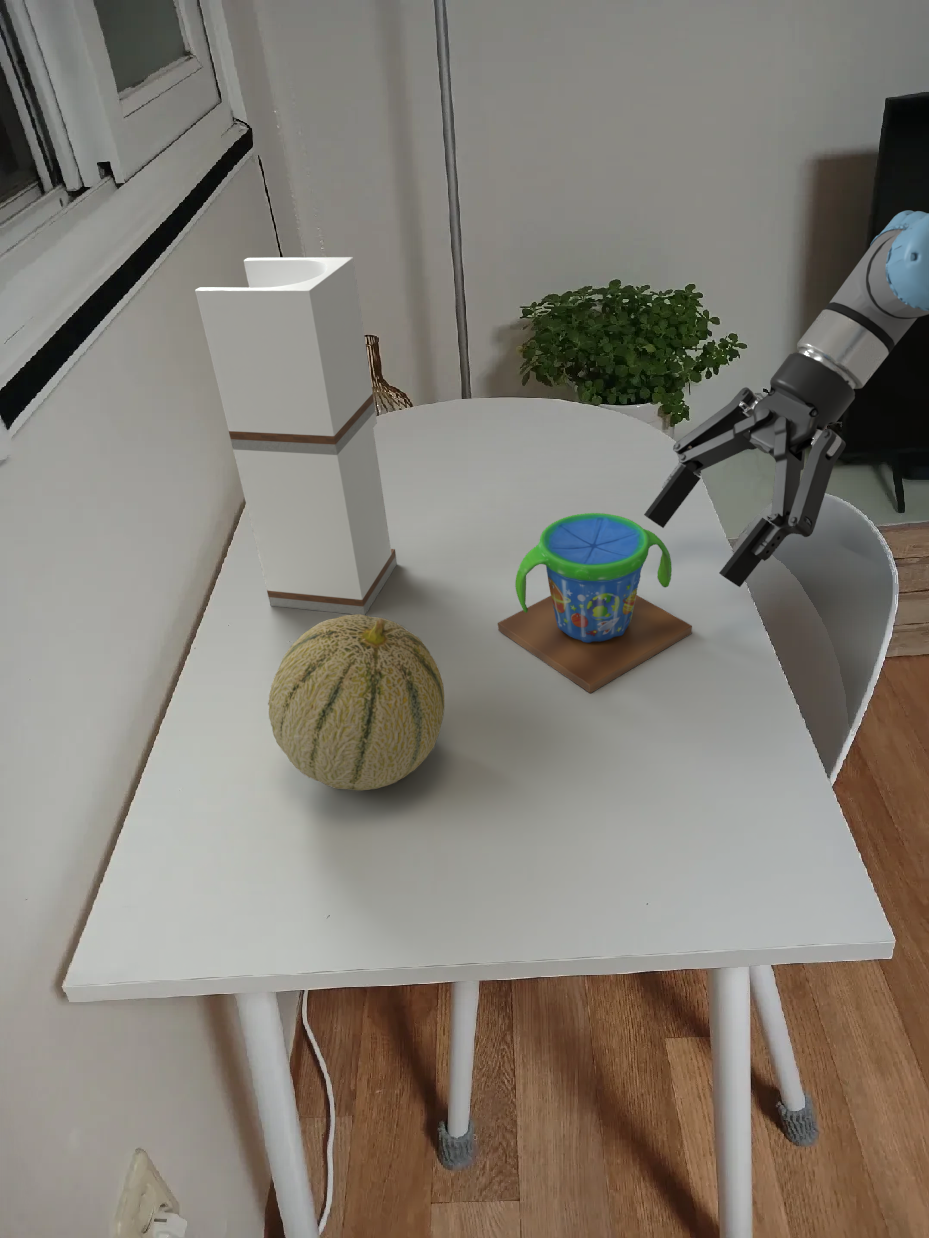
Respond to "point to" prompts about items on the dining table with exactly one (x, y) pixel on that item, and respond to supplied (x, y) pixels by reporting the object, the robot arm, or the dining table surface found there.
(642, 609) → the wooden board
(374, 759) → the cantaloupe
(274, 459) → the striped white pillar
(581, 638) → the snack cup
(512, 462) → the dining table surface
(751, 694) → the dining table surface
